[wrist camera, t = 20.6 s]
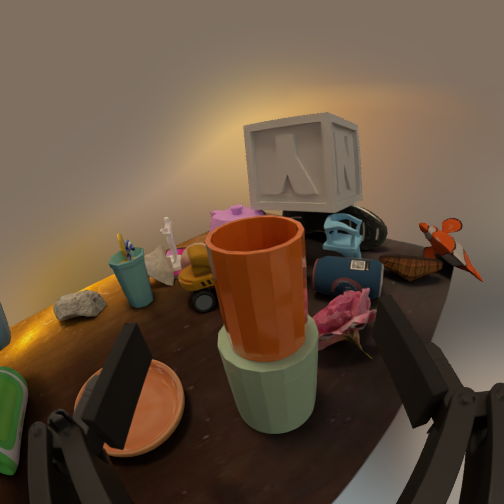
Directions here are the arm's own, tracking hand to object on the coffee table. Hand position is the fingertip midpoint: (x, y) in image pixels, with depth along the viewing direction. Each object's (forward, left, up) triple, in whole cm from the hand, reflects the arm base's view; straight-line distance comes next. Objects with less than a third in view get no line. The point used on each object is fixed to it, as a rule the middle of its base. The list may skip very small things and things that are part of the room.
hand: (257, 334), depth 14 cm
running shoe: (+52, +3, -14) cm, 54 cm away
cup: (+22, +35, -20) cm, 46 cm away
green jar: (+8, +3, -20) cm, 21 cm away
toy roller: (+29, +19, -20) cm, 40 cm away
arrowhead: (+32, +38, -12) cm, 51 cm away
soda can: (+32, -10, -16) cm, 37 cm away
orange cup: (+8, +3, -8) cm, 11 cm away
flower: (+20, -3, -20) cm, 28 cm away
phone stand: (+39, -2, -20) cm, 44 cm away
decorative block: (+50, +6, -9) cm, 51 cm away
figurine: (+36, +36, -18) cm, 54 cm away
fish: (+37, -25, -13) cm, 46 cm away
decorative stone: (+14, +49, -20) cm, 54 cm away
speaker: (-18, +38, -14) cm, 45 cm away
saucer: (0, +20, -20) cm, 28 cm away
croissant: (+40, -16, -15) cm, 45 cm away
